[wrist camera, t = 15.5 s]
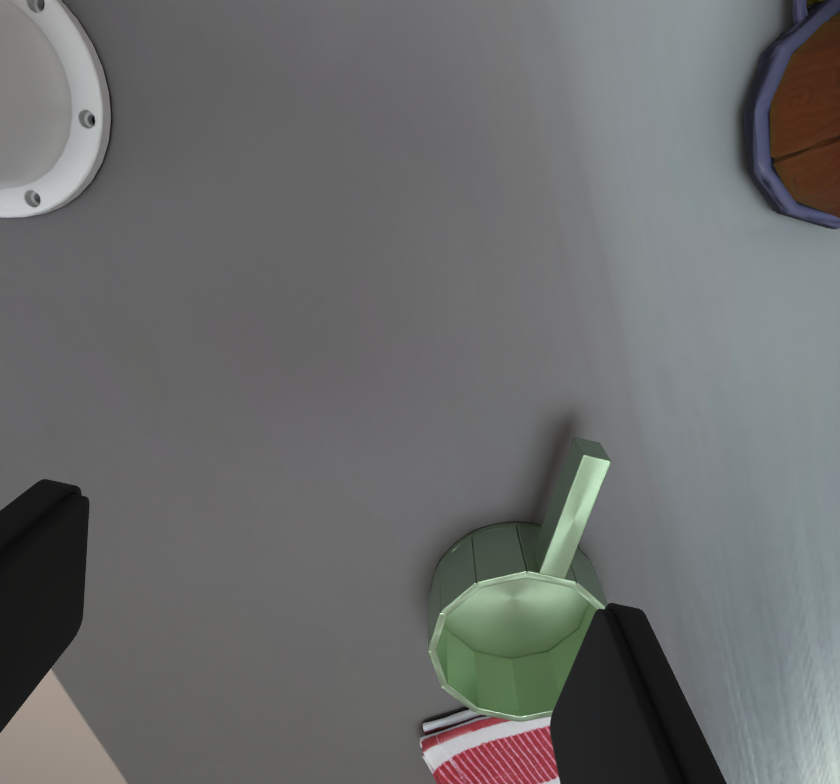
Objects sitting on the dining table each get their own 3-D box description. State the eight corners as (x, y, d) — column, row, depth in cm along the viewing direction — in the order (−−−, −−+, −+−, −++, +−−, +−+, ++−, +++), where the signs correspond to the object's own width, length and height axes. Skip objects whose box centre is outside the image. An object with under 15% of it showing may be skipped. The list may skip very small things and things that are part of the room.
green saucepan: (564, 669, 45) (581, 735, 39) (414, 637, 44) (412, 700, 39) (660, 438, 38) (697, 481, 33) (487, 397, 37) (495, 434, 32)
